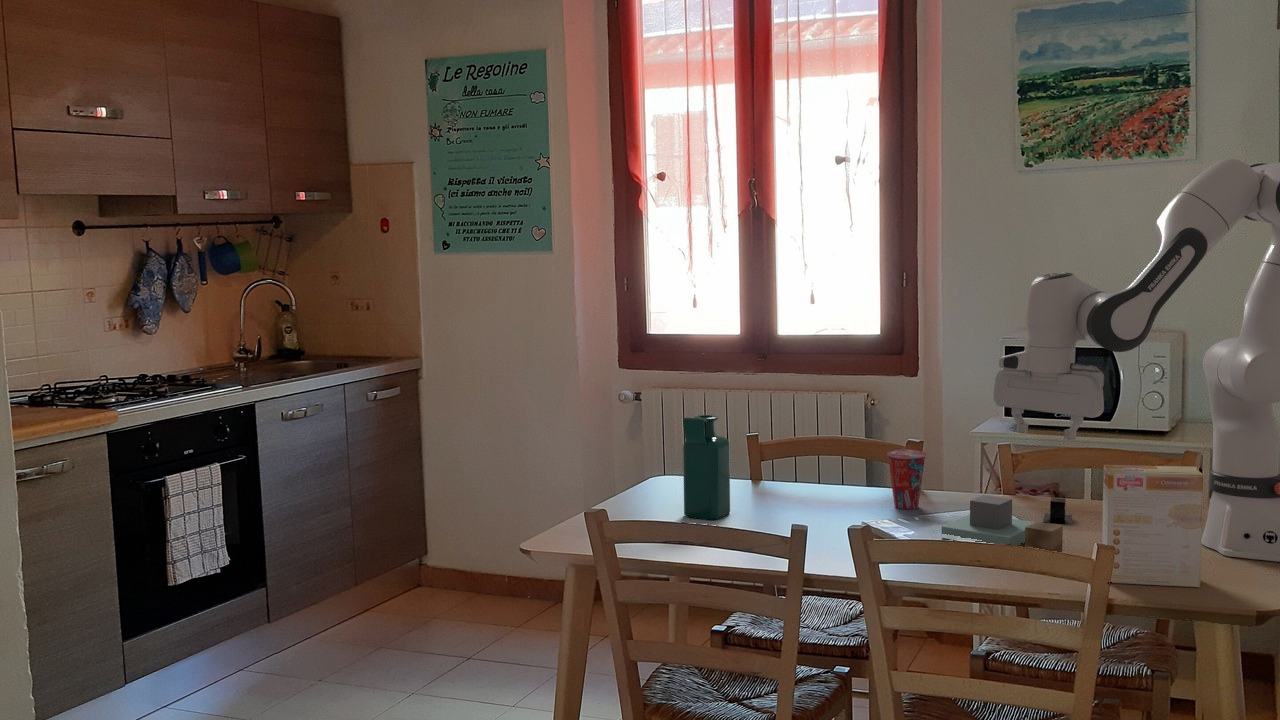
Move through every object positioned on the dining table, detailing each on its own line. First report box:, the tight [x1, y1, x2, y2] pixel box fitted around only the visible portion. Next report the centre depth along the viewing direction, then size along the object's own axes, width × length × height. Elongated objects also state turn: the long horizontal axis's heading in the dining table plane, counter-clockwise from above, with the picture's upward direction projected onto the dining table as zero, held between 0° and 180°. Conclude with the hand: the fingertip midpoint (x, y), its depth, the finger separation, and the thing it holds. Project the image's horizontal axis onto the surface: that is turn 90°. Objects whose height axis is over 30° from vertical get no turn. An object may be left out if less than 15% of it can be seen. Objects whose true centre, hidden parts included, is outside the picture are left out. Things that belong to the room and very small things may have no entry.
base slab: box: [941, 514, 1036, 546], centre depth 229 cm, size 14×14×2 cm
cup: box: [886, 449, 927, 510], centre depth 256 cm, size 9×8×12 cm
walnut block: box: [1024, 521, 1064, 553], centre depth 214 cm, size 5×5×6 cm
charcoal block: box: [969, 494, 1013, 530], centre depth 229 cm, size 6×6×5 cm
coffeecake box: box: [1101, 464, 1204, 588], centre depth 199 cm, size 15×7×20 cm, turn 75°
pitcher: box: [682, 414, 731, 521], centre depth 251 cm, size 10×8×22 cm
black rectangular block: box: [1041, 497, 1073, 526], centre depth 243 cm, size 12×7×5 cm, turn 158°
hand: (1045, 435), depth 214 cm, fingers open, 8 cm apart
